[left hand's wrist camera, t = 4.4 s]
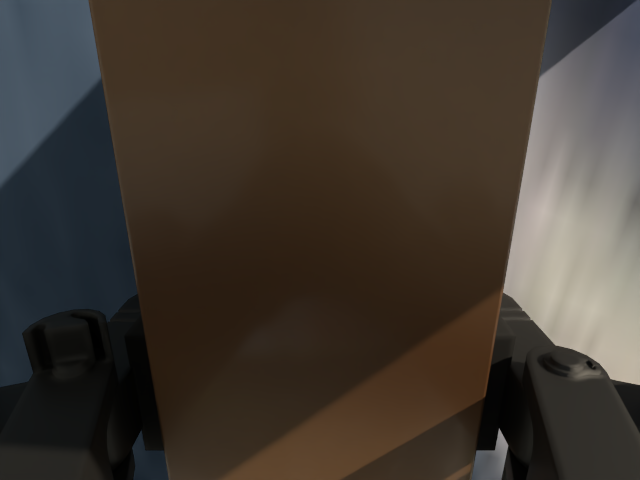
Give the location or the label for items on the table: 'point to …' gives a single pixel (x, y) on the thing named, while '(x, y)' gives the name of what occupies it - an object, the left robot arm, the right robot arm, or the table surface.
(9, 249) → the table surface
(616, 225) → the table surface
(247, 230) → the post
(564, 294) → the table surface
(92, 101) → the table surface
